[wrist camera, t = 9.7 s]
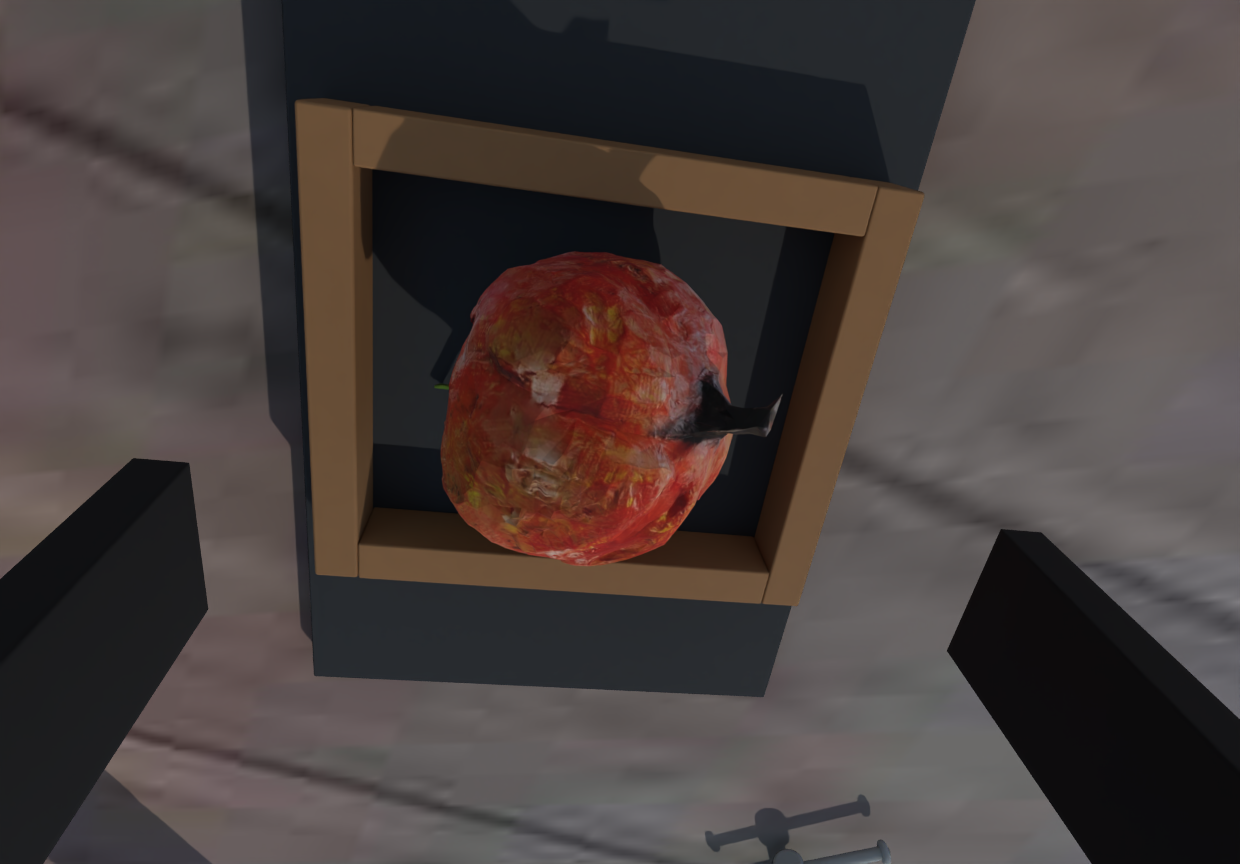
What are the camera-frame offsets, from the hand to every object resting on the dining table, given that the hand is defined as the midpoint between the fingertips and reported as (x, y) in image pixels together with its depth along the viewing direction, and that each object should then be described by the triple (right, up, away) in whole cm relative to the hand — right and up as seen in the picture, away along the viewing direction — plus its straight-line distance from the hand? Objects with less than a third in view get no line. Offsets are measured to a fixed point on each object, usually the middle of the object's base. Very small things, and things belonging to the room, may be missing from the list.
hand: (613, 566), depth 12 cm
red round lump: (-1, +4, +9) cm, 10 cm away
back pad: (-1, +4, +10) cm, 11 cm away
